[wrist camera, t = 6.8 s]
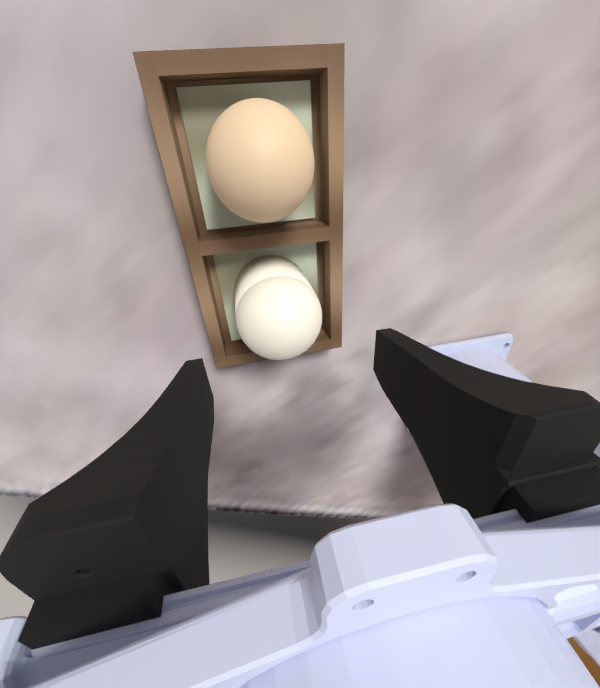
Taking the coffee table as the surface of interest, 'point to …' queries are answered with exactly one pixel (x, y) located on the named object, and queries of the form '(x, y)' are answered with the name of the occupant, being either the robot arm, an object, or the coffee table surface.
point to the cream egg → (276, 308)
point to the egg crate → (208, 210)
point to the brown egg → (260, 160)
